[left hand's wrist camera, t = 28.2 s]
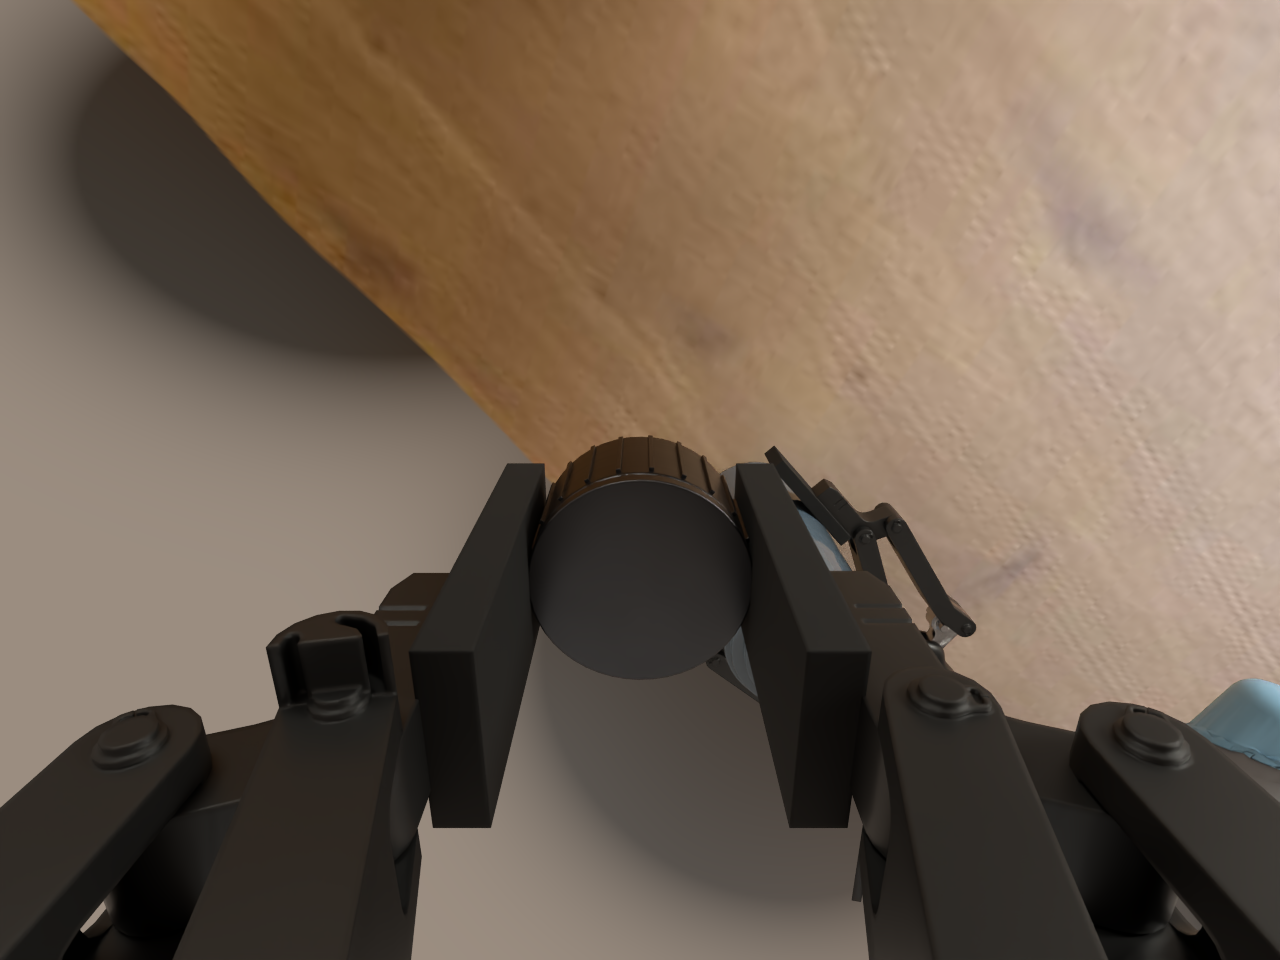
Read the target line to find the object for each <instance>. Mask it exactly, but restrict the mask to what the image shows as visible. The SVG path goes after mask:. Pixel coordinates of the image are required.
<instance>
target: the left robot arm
mask: <svg viewBox="0 0 1280 960" xmlns="http://www.w3.org/2000/svg"><path fill="white" fill-rule="evenodd" d="M735 498H736V501H737V504H738V507H739V510H740V513H741V516H742V519H743V522H744V525H745V528H746V531H747V534H748V537H749V542H747V545H748V548H749V552H750V555H751V558H752V581H751V597H750V607H749V610H748V613H747V615H746V617H745V619H744V621H743V623H742V625H741V629H742V633H743V637H744V641H745V645H746V650H747V654H748V658H749V662H750V666H751V670H752V674H753V679H754V683H755V687H756V691H757V695H758V699H759V703H760V707H761V712H762V715H763V720H764V724H765V728H766V732H767V736H768V740H769V745H770V749H771V753H772V757H773V761H774V765H775V769H776V774H777V778H778V782H779V786H780V790H781V794H782V798H783V803H784V807H785V811H786V815H787V819H788V823H789V827H790V828H847V827H848V821H849V813H850V806H851V799H852V795H853V798H854V801H855V804H856V806H857V809H858V812H859V815H860V818H861V820H862V823H863V828H862V835H861V841H860V848H859V855H858V862H857V868H856V875H855V882H854V888H853V895H852V900H853V901H859V902H861V898H862V895H863V904H864V914H865V924H866V933H867V943H868V952H869V960H1280V802H1278V801H1277V800H1276V799H1275V798H1274V797H1273V796H1272V795H1271V794H1269V793H1268V792H1267V791H1266V790H1265V789H1264V788H1263V787H1261V786H1260V785H1259V784H1258V783H1257V782H1256V781H1255V780H1254V779H1252V778H1251V777H1250V776H1249V775H1248V774H1247V773H1246V772H1244V771H1243V770H1242V769H1241V768H1240V767H1239V766H1238V765H1236V764H1235V763H1234V762H1233V761H1232V760H1231V759H1230V758H1229V757H1227V756H1226V755H1225V754H1224V753H1223V752H1222V751H1221V750H1219V749H1218V748H1217V747H1216V746H1215V745H1214V744H1213V743H1212V742H1210V741H1209V740H1208V739H1207V738H1205V737H1204V736H1202V735H1201V734H1200V733H1198V732H1197V731H1195V730H1194V729H1193V728H1191V727H1190V726H1188V725H1187V724H1185V723H1183V722H1181V721H1179V720H1177V719H1175V718H1172V717H1170V716H1168V715H1166V714H1164V713H1163V712H1160V711H1157V710H1154V709H1151V708H1146V707H1145V706H1140V705H1135V704H1129V703H1118V702H1104V703H1099V704H1093V705H1090V706H1089V707H1088V708H1087V709H1085V710H1084V711H1083V712H1082V713H1081V714H1080V717H1079V721H1078V725H1077V728H1076V732H1073V731H1069V730H1064V729H1059V728H1054V727H1049V726H1045V725H1040V724H1035V723H1030V722H1026V721H1022V720H1018V719H1015V718H1011V717H1007V716H1005V715H1004V713H1003V711H1002V708H1001V706H1000V705H999V703H998V702H997V701H996V699H995V698H994V697H993V695H992V694H991V693H990V692H989V691H988V690H986V689H985V688H984V687H982V686H981V685H979V684H978V683H977V682H975V681H974V680H972V679H970V678H967V677H965V676H963V675H960V674H958V673H956V672H953V671H949V670H945V668H944V667H943V665H942V664H941V662H940V661H939V659H938V658H937V656H936V655H935V653H934V652H933V650H932V649H931V647H930V646H929V644H928V643H927V641H926V640H925V638H924V637H923V635H922V634H921V632H920V631H919V629H918V628H917V626H916V625H915V623H912V619H911V617H910V616H909V614H908V613H907V611H906V610H905V608H902V604H901V602H900V601H899V599H898V598H897V596H896V595H895V593H894V592H893V590H892V589H891V587H890V586H889V585H887V584H886V583H884V582H883V581H881V580H880V579H878V578H877V577H875V576H874V575H872V574H871V573H870V572H868V571H829V569H828V567H827V565H826V563H825V561H824V559H823V557H822V555H821V553H820V552H819V550H818V548H817V546H816V544H815V542H814V540H813V538H812V536H811V534H810V533H809V531H808V529H807V527H806V525H805V523H804V521H803V519H802V517H801V515H800V514H799V512H798V510H797V508H796V506H795V504H794V502H793V500H792V498H791V496H790V495H789V493H788V491H787V489H786V487H785V485H784V483H783V481H782V479H781V477H780V476H779V474H778V472H777V470H776V468H775V466H774V464H736V475H735V494H734V499H735ZM545 503H546V486H545V466H544V464H507V465H506V467H505V469H504V471H503V473H502V475H501V477H500V478H499V480H498V482H497V484H496V486H495V488H494V490H493V492H492V494H491V496H490V498H489V499H488V501H487V503H486V505H485V507H484V509H483V511H482V513H481V515H480V517H479V518H478V520H477V522H476V524H475V526H474V528H473V530H472V532H471V533H470V535H469V537H468V539H467V541H466V543H465V545H464V547H463V549H462V551H461V553H460V554H459V556H458V558H457V560H456V562H455V564H454V566H453V568H452V570H451V572H450V573H413V574H412V575H410V576H409V577H407V578H406V579H404V580H403V581H401V582H400V583H398V584H397V585H396V586H394V587H393V588H391V589H390V591H389V592H388V594H387V595H386V597H385V598H384V600H383V602H382V603H381V604H380V606H379V610H377V611H376V612H375V614H370V613H367V612H363V611H336V612H331V613H326V614H320V615H316V616H313V617H311V618H308V619H305V620H303V621H300V622H297V623H295V624H293V625H291V626H290V627H288V628H287V629H285V630H283V631H282V632H280V633H279V634H277V635H276V636H275V638H274V639H273V640H272V641H271V642H270V643H269V644H268V646H267V647H266V650H267V655H268V660H269V664H270V668H271V673H272V677H273V682H274V686H275V691H276V695H277V700H278V704H279V709H278V712H277V714H276V716H275V719H273V720H270V721H266V722H262V723H259V724H255V725H250V726H245V727H241V728H236V729H231V730H226V731H222V732H217V733H212V734H207V735H206V733H205V730H204V726H203V722H202V719H201V716H199V715H198V714H197V713H196V712H195V711H194V710H192V709H191V708H188V707H183V706H177V705H163V706H153V707H147V708H142V709H137V710H136V711H130V712H128V713H124V714H121V715H119V716H117V717H116V718H114V719H112V720H109V721H107V722H105V723H103V724H101V725H99V726H97V727H95V728H94V729H92V730H91V731H89V732H88V733H87V734H85V735H84V736H82V737H81V738H79V739H78V740H77V741H75V742H74V743H73V744H72V745H70V746H69V747H68V748H67V749H66V750H65V751H64V752H63V753H61V754H60V755H59V756H58V757H57V758H56V759H55V760H54V761H52V762H51V763H50V764H49V765H48V766H47V767H46V768H45V769H43V770H42V771H41V772H40V773H39V774H38V775H37V776H36V777H34V778H33V779H32V780H31V781H30V782H29V783H28V784H27V785H25V786H24V787H23V788H22V789H21V790H20V791H19V792H18V793H16V794H15V795H14V796H13V797H12V798H11V799H10V800H9V801H7V802H6V803H5V804H4V805H3V806H2V807H1V808H0V960H411V954H412V945H413V935H414V925H415V916H416V906H417V897H418V887H419V877H420V867H421V858H422V855H421V848H420V841H419V835H418V825H419V822H420V820H421V817H422V814H423V811H424V808H425V806H426V803H427V800H428V797H429V803H430V810H431V817H432V824H433V828H491V825H492V821H493V817H494V813H495V809H496V804H497V800H498V796H499V792H500V788H501V784H502V779H503V776H504V771H505V767H506V763H507V759H508V755H509V751H510V747H511V742H512V738H513V734H514V730H515V726H516V721H517V718H518V713H519V709H520V705H521V701H522V697H523V693H524V689H525V685H526V680H527V676H528V672H529V668H530V664H531V660H532V655H533V651H534V647H535V643H536V639H537V635H538V631H539V627H540V624H539V623H538V621H537V618H536V616H535V614H534V612H533V609H532V606H531V602H530V589H529V573H528V566H529V560H530V556H531V553H532V545H533V542H534V538H535V535H536V532H537V529H538V526H539V522H540V519H541V516H542V512H543V509H544V506H545ZM1178 897H1179V899H1180V900H1181V901H1182V902H1183V903H1184V905H1185V906H1186V907H1187V908H1188V909H1189V911H1190V912H1191V913H1192V914H1193V915H1194V917H1195V918H1196V919H1197V920H1198V921H1199V923H1200V924H1201V925H1202V927H1201V929H1200V930H1197V929H1196V928H1195V927H1193V926H1192V925H1191V924H1190V923H1189V922H1188V921H1187V920H1186V918H1185V917H1184V916H1183V915H1182V914H1181V912H1180V911H1179V910H1178V909H1177V907H1176V906H1175V905H1176V903H1177V900H1178ZM103 901H104V903H105V906H106V910H105V911H104V912H103V913H102V914H101V916H100V917H99V918H98V919H97V921H96V922H95V923H94V924H93V925H92V926H91V927H89V928H88V929H87V930H86V931H85V932H84V933H82V932H81V931H80V928H81V927H82V926H83V925H84V924H85V922H86V921H87V920H88V919H89V918H90V916H91V915H92V914H93V913H94V912H95V910H96V909H97V908H98V907H99V905H100V904H101V903H102V902H103Z"/></svg>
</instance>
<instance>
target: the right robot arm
mask: <svg viewBox="0 0 1280 960" xmlns="http://www.w3.org/2000/svg"><path fill="white" fill-rule="evenodd" d="M765 456H766V458H767V459H768V461H769V463H770V464H774V466H775V468H776V470H777V472H778V474H779V476H780V477H781V479H782V480H783V481H784V482H785V483H786V484H787V486H788V487H789V488H790V489H791V490H792V491H793V492H794V493H795V495H796V496H797V497H798V498H799V499H800V500H801V501H802V502H803V504H804V505H805V506H806V507H807V508H808V509H809V510H810V511H811V513H812V514H813V515H814V516H815V517H816V518H817V519H818V520H819V521H820V523H821V524H822V525H823V526H824V527H825V528H826V529H827V530H828V532H829V533H830V534H831V535H832V536H833V537H834V538H835V539H836V541H837V542H838V543H839V544H840V545H843V544H844V543H845V542H847V541H848V542H849V546H850V550H851V553H852V557H853V560H854V564H855V568H856V571H868V572H870V573H871V574H872V575H874V576H875V577H877V578H878V579H880V580H881V581H883V582H884V583H886V584H887V580H886V576H885V572H884V569H883V565H882V561H881V557H880V553H879V549H878V545H877V542H876V540H877V539H880V538H883V537H887V539H888V541H889V542H890V544H891V546H892V547H893V549H894V551H895V553H896V554H897V556H898V558H899V559H900V561H901V563H902V565H903V566H904V568H905V570H906V571H907V573H908V575H909V577H910V578H911V580H912V582H913V583H914V585H915V587H916V589H917V590H918V592H919V593H920V595H921V596H922V598H923V599H924V600H925V602H926V603H927V604H928V606H929V607H927V609H926V611H927V614H926V619H927V621H928V622H929V624H930V628H929V630H928V631H927V632H925V631H920V630H919V631H920V632H921V634H922V635H923V637H924V638H925V640H926V641H927V643H928V644H929V646H930V647H931V649H932V650H933V652H934V653H935V655H936V656H937V658H938V659H939V661H940V662H941V664H942V665H943V667H944V668H945V670H949V671H953V669H952V668H951V667H950V666H949V665H948V664H947V663H946V662H945V656H944V651H943V648H944V647H945V646H946V645H947V644H948V643H949V642H950V641H951V640H952V639H953V638H954V637H955V636H956V635H957V634H958V635H960V636H962V637H968V636H971V635H972V634H973V633H974V632H975V631H976V624H975V623H974V622H973V621H972V620H971V618H970V617H969V616H968V615H967V613H966V612H965V611H964V610H963V609H962V608H961V606H960V605H959V604H958V603H957V602H956V601H955V600H953V599H952V598H951V597H949V596H948V595H947V594H946V592H945V590H944V589H943V587H942V585H941V583H940V582H939V580H938V578H937V576H936V575H935V573H934V571H933V569H932V568H931V566H930V564H929V562H928V561H927V559H926V557H925V555H924V553H923V552H922V550H921V548H920V546H919V545H918V543H917V541H916V539H915V538H914V536H913V534H912V532H911V531H910V529H909V527H908V525H907V524H906V522H905V521H904V520H903V519H902V517H901V516H900V515H899V514H898V513H897V512H896V511H895V509H894V508H893V507H892V506H891V505H890V504H888V503H881V504H878V505H877V506H876V507H875V509H874V510H872V511H869V512H865V513H862V512H858V511H856V510H855V509H854V508H853V507H852V506H851V504H850V503H849V502H848V501H847V500H846V499H845V497H844V496H843V495H842V494H841V493H840V492H839V490H838V489H837V488H836V487H835V486H834V485H833V484H832V482H830V481H828V480H826V479H823V480H821V481H820V482H819V483H818V484H816V485H815V486H814V487H812V488H811V487H810V486H809V485H808V484H807V482H806V481H805V480H804V479H803V478H802V477H801V476H800V474H799V473H798V472H797V471H796V470H795V469H794V468H793V466H792V465H791V464H790V463H789V462H788V461H787V460H786V459H785V457H784V456H783V455H782V454H781V453H780V452H779V451H778V449H777V448H776V447H775V446H773V447H772V448H771V449H770V450H768V451H767V452H766V453H765ZM887 585H888V584H887ZM706 664H707V666H708V667H709V668H710V669H711V670H713V671H714V672H716V673H717V674H719V675H720V676H721V677H723V678H724V679H726V680H727V681H729V682H730V683H732V684H733V685H734V686H736V687H737V688H739V689H740V690H742V691H743V692H744V693H746V694H747V695H749V696H750V697H752V698H753V699H754V700H756V701H757V702H759V699H758V696H756V695H755V694H753V693H752V692H751V691H750V690H748V689H747V688H746V687H745V686H744V685H742V684H741V683H740V682H739V680H738V679H737V678H736V677H735V676H734V674H733V673H732V671H731V669H730V667H729V665H728V663H727V660H726V657H725V653H724V648H723V649H721V650H720V651H719V652H718V653H717V654H716V655H714V656H713V657H711V658H710V659H709V660H707V661H706ZM953 672H954V671H953ZM1186 724H1187V725H1188V726H1190V727H1191V728H1193V729H1194V730H1195V731H1197V732H1198V733H1200V734H1201V735H1202V736H1204V737H1205V738H1207V739H1208V740H1209V741H1210V742H1212V743H1213V744H1214V745H1215V746H1216V747H1217V748H1218V749H1219V750H1221V751H1222V752H1223V753H1224V754H1225V755H1226V756H1227V757H1229V758H1230V759H1231V760H1232V761H1233V762H1234V763H1235V764H1236V765H1238V766H1239V767H1240V768H1241V769H1242V770H1243V771H1244V772H1246V773H1247V774H1248V775H1249V776H1250V777H1251V778H1252V779H1254V780H1255V781H1256V782H1257V783H1258V784H1259V785H1260V786H1261V787H1263V788H1264V789H1265V790H1266V791H1267V792H1268V793H1269V794H1271V795H1272V796H1273V797H1274V798H1275V799H1276V800H1277V801H1278V802H1280V685H1278V684H1275V683H1272V682H1269V681H1265V680H1261V679H1244V680H1240V681H1238V682H1236V683H1234V684H1233V685H1231V686H1230V687H1229V688H1228V689H1227V690H1226V691H1225V692H1223V693H1222V694H1221V695H1220V696H1219V697H1218V698H1217V699H1216V700H1214V701H1213V702H1212V703H1211V704H1210V705H1209V706H1208V707H1206V708H1205V709H1204V710H1203V711H1202V712H1201V713H1200V714H1199V715H1197V716H1196V717H1195V718H1194V719H1193V720H1192V721H1191V722H1190V723H1186ZM1175 906H1176V907H1177V909H1178V910H1179V911H1180V912H1181V914H1182V915H1183V916H1184V917H1185V918H1186V920H1187V921H1188V922H1189V923H1190V924H1191V925H1192V926H1193V927H1195V928H1196V929H1197V930H1200V929H1201V927H1202V925H1201V924H1200V923H1199V921H1198V920H1197V919H1196V918H1195V917H1194V915H1193V914H1192V913H1191V912H1190V911H1189V909H1188V908H1187V907H1186V906H1185V905H1184V903H1183V902H1182V901H1181V900H1180V899H1179V897H1178V900H1177V903H1176V905H1175Z"/></svg>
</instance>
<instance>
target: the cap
mask: <svg viewBox="0 0 1280 960" xmlns="http://www.w3.org/2000/svg"><path fill="white" fill-rule="evenodd" d="M747 542H749V537H748V534H747V531H746V528H745V525H744V522H743V519H742V516H741V513H740V510H739V507H738V504H737V501H736V498H735V499H732V496H731V493H730V491H729V488H728V485H727V482H726V479H725V477H724V475H721V476H720V474H719V473H718V472H717V471H716V470H715V469H714V467H713V466H712V465H711V464H710V463H708V462H707V459H706V457H705V456H704V455H703V456H702V457H701V456H700V455H698V454H697V453H695V452H694V451H692V450H690V449H688V448H686V447H684V446H682V445H681V443H680V442H677V443H674V442H671V441H668V440H664V439H659V438H653V436H651V435H648V437H629V438H623V437H619V439H618V440H613V441H610V442H607V443H604V444H601V445H599V446H597V447H595V445H594V446H592V447H591V450H589V451H588V452H586V453H584V454H583V455H581V456H580V457H579V458H578V459H576V460H575V461H574V462H573V463H572V462H571V461H570V462H569V463H568V465H567V469H566V470H565V471H564V472H563V473H562V475H561V476H560V478H559V479H558V481H557V482H556V484H555V483H552V485H551V488H550V491H549V494H548V497H547V500H546V503H545V506H544V509H543V512H542V516H541V519H540V522H539V526H538V529H537V532H536V535H535V538H534V542H533V545H532V553H531V556H530V560H529V566H528V573H529V589H530V602H531V606H532V609H533V612H534V614H535V616H536V618H537V621H538V623H539V624H540V626H541V627H542V629H543V631H544V632H545V634H546V635H547V636H548V637H549V639H550V640H551V641H552V642H553V644H555V645H556V646H557V647H558V648H559V649H560V650H561V651H562V652H563V653H564V654H566V655H567V656H568V657H570V658H571V659H573V660H574V661H576V662H578V663H579V664H581V665H583V666H585V667H586V668H589V669H591V670H594V671H596V672H598V673H602V674H605V675H609V676H612V677H618V678H624V679H636V680H644V679H657V678H663V677H669V676H673V675H676V674H680V673H683V672H685V671H688V670H690V669H693V668H695V667H697V666H698V665H700V664H702V663H704V662H706V661H707V660H709V659H710V658H711V657H713V656H714V655H716V654H717V653H718V652H719V651H720V650H721V649H723V648H724V647H725V646H726V645H727V644H728V643H729V641H730V640H731V639H732V638H733V637H734V636H735V634H736V633H737V631H738V630H739V628H740V627H741V625H742V623H743V621H744V619H745V617H746V615H747V613H748V610H749V607H750V597H751V581H752V558H751V555H750V552H749V548H748V545H747Z"/></svg>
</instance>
